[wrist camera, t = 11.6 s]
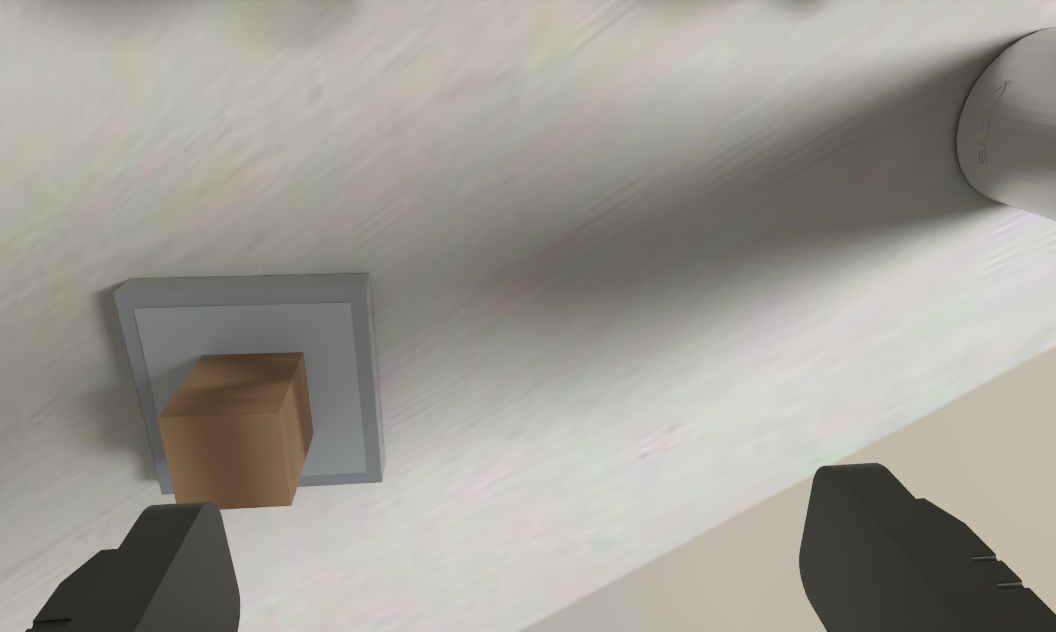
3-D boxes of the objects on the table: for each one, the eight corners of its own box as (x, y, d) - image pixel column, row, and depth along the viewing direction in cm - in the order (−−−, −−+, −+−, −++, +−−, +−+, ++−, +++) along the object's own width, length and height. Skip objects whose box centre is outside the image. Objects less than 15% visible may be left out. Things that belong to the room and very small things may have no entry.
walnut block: (303, 351, 35) (278, 413, 30) (313, 434, 37) (291, 505, 32) (202, 355, 35) (157, 417, 29) (217, 438, 37) (178, 511, 31)
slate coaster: (369, 272, 36) (365, 287, 34) (384, 461, 41) (382, 483, 39) (130, 278, 35) (112, 293, 33) (174, 472, 40) (161, 495, 38)
